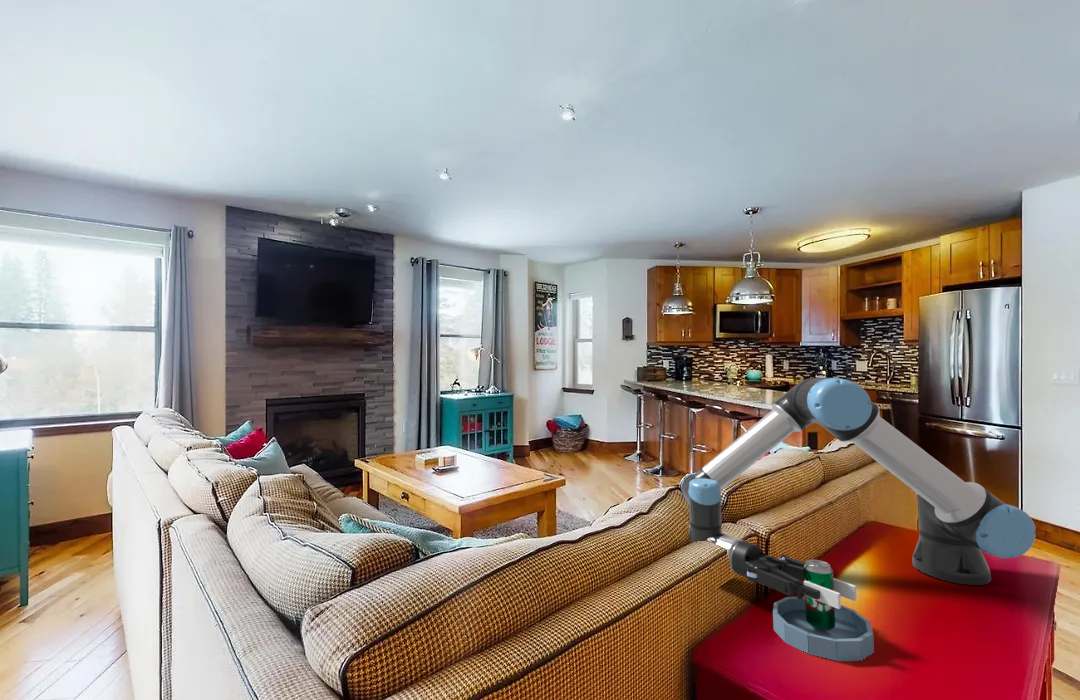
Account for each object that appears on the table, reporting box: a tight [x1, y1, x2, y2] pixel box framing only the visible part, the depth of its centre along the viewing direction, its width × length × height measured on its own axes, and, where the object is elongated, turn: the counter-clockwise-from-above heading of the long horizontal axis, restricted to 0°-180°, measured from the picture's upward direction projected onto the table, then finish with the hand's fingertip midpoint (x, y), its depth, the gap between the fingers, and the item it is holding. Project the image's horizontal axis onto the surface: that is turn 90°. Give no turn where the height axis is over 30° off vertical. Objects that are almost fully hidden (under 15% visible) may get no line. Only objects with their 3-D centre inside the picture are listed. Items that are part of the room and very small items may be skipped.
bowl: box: [772, 596, 875, 662], centre depth 94 cm, size 17×17×4 cm
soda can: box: [803, 559, 835, 631], centre depth 94 cm, size 5×5×12 cm
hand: (847, 597), depth 90 cm, fingers closed on soda can, 5 cm apart
